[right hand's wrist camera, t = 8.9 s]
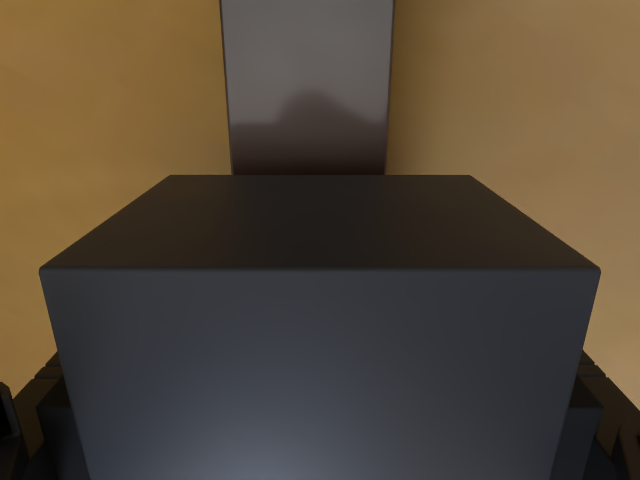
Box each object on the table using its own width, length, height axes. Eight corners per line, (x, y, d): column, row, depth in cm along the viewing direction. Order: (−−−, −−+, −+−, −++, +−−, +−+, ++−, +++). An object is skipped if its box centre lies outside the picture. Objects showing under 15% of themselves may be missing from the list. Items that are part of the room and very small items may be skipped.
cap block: (168, 174, 12) (34, 267, 6) (471, 174, 12) (605, 268, 6) (197, 415, 15) (122, 627, 9) (442, 415, 15) (517, 628, 9)
